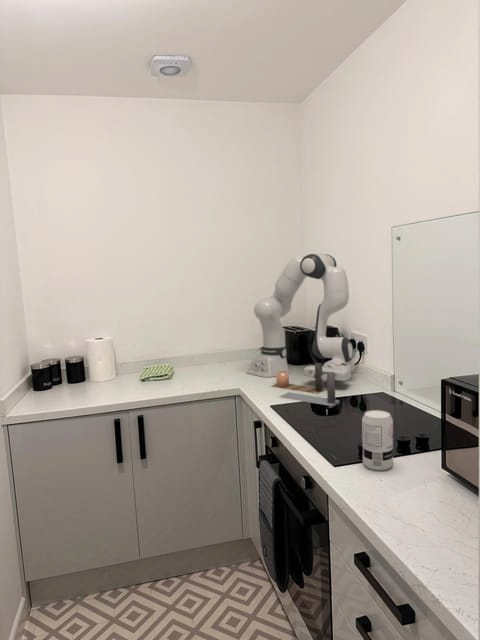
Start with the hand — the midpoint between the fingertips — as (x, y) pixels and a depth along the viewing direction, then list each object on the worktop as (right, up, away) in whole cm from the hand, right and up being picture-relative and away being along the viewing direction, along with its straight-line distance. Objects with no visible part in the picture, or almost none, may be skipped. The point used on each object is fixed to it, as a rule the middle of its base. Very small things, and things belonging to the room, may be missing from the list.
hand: (317, 377), depth 209 cm
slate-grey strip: (-5, -9, -9) cm, 13 cm away
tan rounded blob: (-14, -5, +13) cm, 20 cm away
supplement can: (+6, -17, -71) cm, 73 cm away
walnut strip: (-7, -7, +8) cm, 13 cm away
